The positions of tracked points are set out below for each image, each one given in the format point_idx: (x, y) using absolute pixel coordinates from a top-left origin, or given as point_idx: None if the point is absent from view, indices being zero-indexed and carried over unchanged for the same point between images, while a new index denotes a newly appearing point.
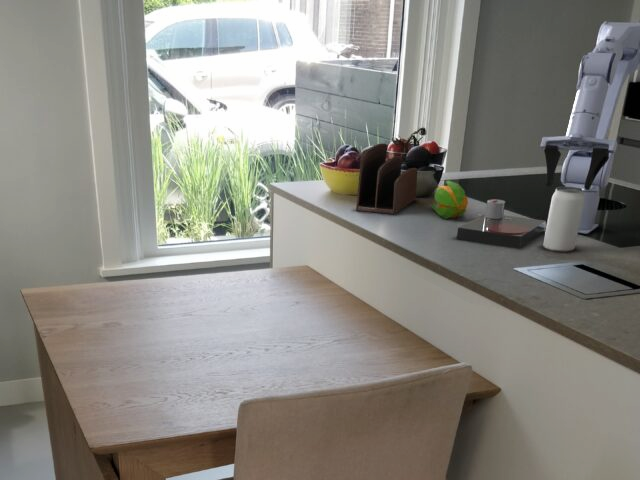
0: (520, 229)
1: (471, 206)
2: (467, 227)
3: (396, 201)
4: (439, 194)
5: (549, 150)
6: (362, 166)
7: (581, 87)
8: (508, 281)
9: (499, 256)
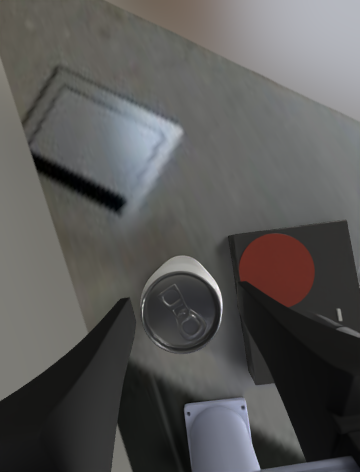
0: (255, 276)
1: None
2: (334, 231)
3: None
4: None
5: (357, 353)
6: None
7: None
8: (159, 72)
9: (227, 174)
